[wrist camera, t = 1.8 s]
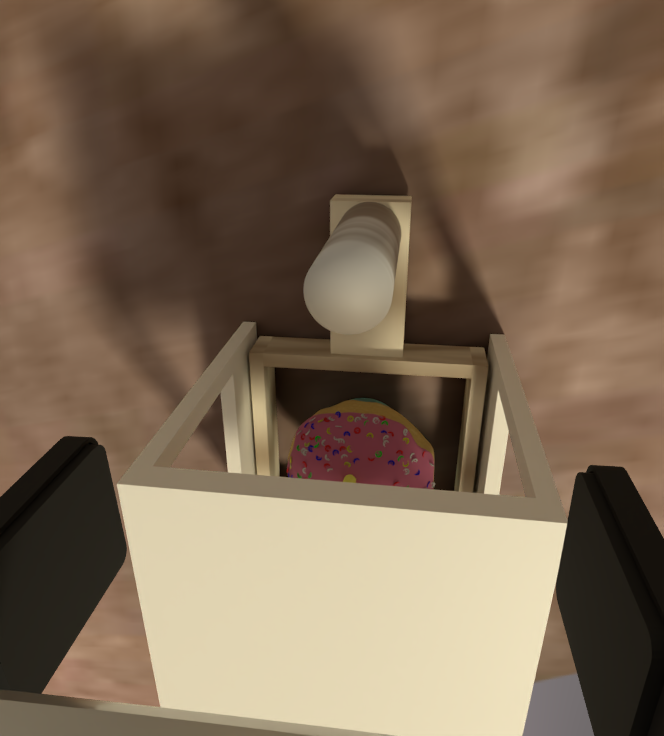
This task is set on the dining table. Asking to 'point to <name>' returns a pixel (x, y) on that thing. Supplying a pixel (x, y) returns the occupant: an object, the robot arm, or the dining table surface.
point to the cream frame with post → (364, 325)
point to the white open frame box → (344, 576)
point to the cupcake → (362, 447)
